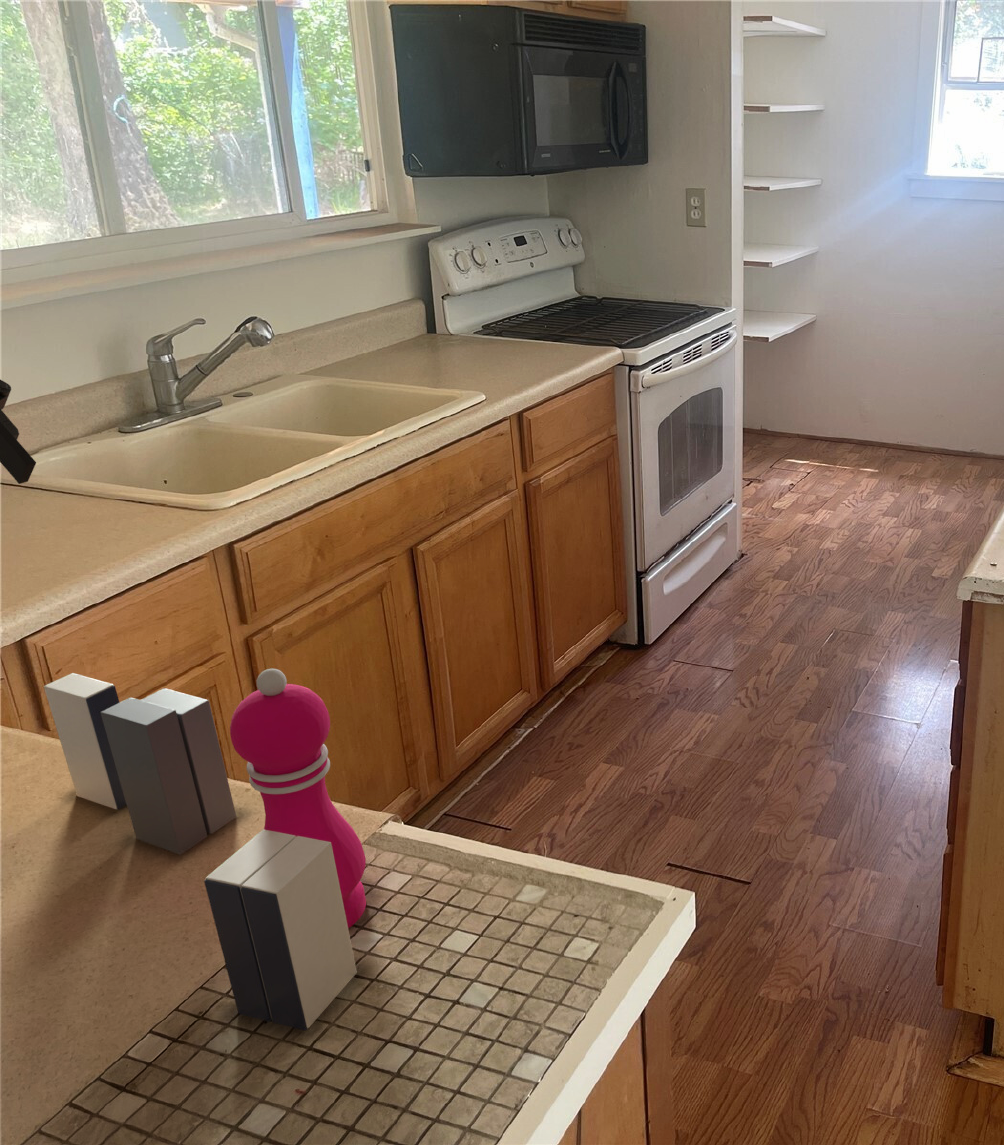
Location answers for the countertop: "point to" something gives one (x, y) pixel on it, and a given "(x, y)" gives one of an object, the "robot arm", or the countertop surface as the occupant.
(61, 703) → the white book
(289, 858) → the grey tall block
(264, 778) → the pepper mill
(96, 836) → the countertop surface
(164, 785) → the grey books
